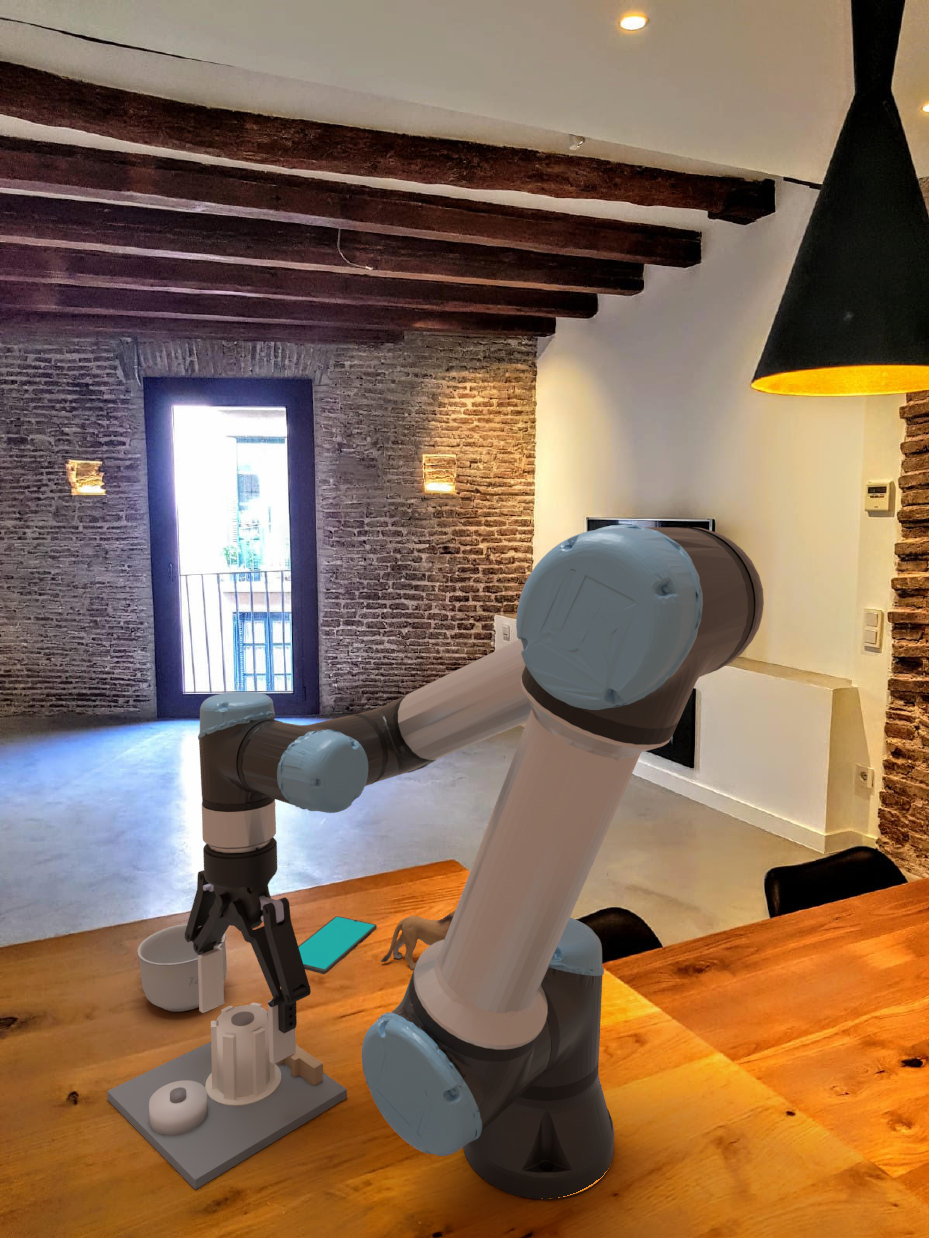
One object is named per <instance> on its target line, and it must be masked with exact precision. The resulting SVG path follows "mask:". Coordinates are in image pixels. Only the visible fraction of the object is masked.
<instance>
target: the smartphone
mask: <svg viewBox="0 0 929 1238" xmlns="http://www.w3.org/2000/svg"><path fill="white" fill-rule="evenodd" d="M377 927H378V925H377V924H375V923H372V922H371V923H370V922H366V921H361V920H357V919H354V918H353V919H352V918H348V917H344V916H340V915H339V916H338V915H337V916H334V917H333V918H331V919H330V920H329V921H328V922H327V923H325V924H324V925H323V926H322V927H321V928H319V929H318V930H316V931H315V932H314V933H313V934H312V935H310V936H309V937H308V938H306V939H305V940H304V941H303V942H301V943H300V944H298V947H299V951H300V954H301V958H302V961H303V965H304V968H305V971H306V970H307V971H311V972H313V973H318V974H321V975H326V974H327V973H329V972H330V970H332V969H333V968H334V967H335V966H336V965H337V964H338V963H340V961H342V960H343V959H344V958H345V957H346V956H347V955H348V954H350V953H351V952H352V951H353V950H354V949H356V948H357V947H358V945H360V944H362V943H363V942H364V941H365V940H366V939H367V938H368V937H369V936H370V935H372V933H373V932H375V930H377Z"/></svg>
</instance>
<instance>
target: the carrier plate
mask: <svg viewBox="0 0 929 1238" xmlns="http://www.w3.org/2000/svg"><path fill="white" fill-rule="evenodd" d="M323 1065H324V1064H323V1062H322V1061H321V1060H318V1058H316V1057H314V1056H313V1055H312V1054H311V1053H308V1051H306V1050H305V1049H303V1048H301V1047H300V1046H299V1045H297V1044H296V1053H294V1054H292V1055H290V1056H288V1057H287V1058H285V1059H283V1060H281V1061H279V1062H277V1063H275V1078H273V1079H270V1080H269V1082H268V1084H267V1085H266V1091H265V1092H264V1093H262V1094H260V1095H258V1096H255V1095H254V1094H252V1095H249V1096H244V1097H236V1099H235V1100H229V1099H224V1094H223V1093H221V1092H220V1091H219V1089H218V1088H214V1089H212V1057H211V1041H209V1042H207V1043H205V1044H203V1045H200V1046H199V1047H198V1046H197V1048H195V1049H194V1048H193V1049H192V1050H191V1051H188V1052H186V1053H184V1054H182V1055H180V1056H178V1057H176V1058H173V1059H171V1060H169V1061H167V1062H165V1063H163V1064H161V1065H159V1066H157V1067H154V1068H152V1069H150V1070H148V1071H146V1072H144V1073H142V1074H140V1075H138V1076H136V1077H133V1078H132V1079H129V1080H128V1081H125V1082H123V1083H121V1084H118V1085H117V1086H115V1087H113V1088H111V1089H110V1088H109V1090H107V1092H106V1094H107V1095H106V1096H107V1098H106V1099H107V1101H108V1102H109V1103H110V1104H111V1105H112V1106H113V1107H114V1108H115V1109H116V1110H117V1111H118V1112H119V1113H120V1114H121V1115H122V1117H124V1118H125V1119H126V1120H127V1121H128V1123H130V1124H131V1125H132V1127H133V1128H134V1129H135V1130H137V1132H138V1133H139V1134H140V1135H142V1136H143V1137H144V1139H145V1140H146V1141H147V1142H148V1143H149V1144H150V1145H151V1146H152V1147H153V1148H154V1149H155V1150H156V1151H157V1152H158V1153H159V1154H160V1155H161V1157H162V1158H164V1160H165V1161H167V1162H168V1164H169V1165H170V1166H172V1168H174V1170H175V1171H177V1173H178V1174H179V1175H180V1176H181V1177H182V1178H183V1179H184V1180H185V1181H186V1182H187V1184H189V1185H190V1186H191V1187H192V1188H193V1189H194V1190H198V1189H199V1188H201V1187H202V1186H204V1185H206V1184H207V1183H209V1182H211V1181H213V1180H214V1179H216V1178H217V1177H218V1176H220V1175H223V1174H224V1173H225V1172H227V1171H228V1170H230V1169H232V1168H234V1167H235V1166H237V1165H238V1164H240V1163H242V1162H243V1161H246V1160H247V1159H249V1158H250V1157H251V1156H254V1155H255V1154H257V1153H259V1152H260V1151H262V1150H263V1149H265V1148H267V1147H268V1146H270V1145H272V1144H273V1143H274V1142H277V1141H278V1140H279V1139H282V1138H283V1137H284V1136H286V1135H288V1134H289V1133H291V1132H293V1131H295V1130H296V1129H298V1128H300V1127H301V1126H303V1125H304V1124H306V1123H308V1122H309V1121H311V1120H312V1119H314V1118H316V1117H318V1116H320V1115H322V1114H323V1113H324V1112H325V1111H327V1110H329V1109H331V1108H332V1107H335V1106H336V1105H337V1104H339V1103H340V1102H342V1101H344V1100H345V1099H347V1098H348V1089H347V1088H346V1087H344V1086H343V1085H341V1084H340V1083H339V1082H338V1081H336V1080H335V1079H333V1078H332V1077H331V1076H329V1075H327V1074H326V1073H324V1071H323V1070H324V1066H323Z"/></svg>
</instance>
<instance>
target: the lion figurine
mask: <svg viewBox="0 0 929 1238" xmlns="http://www.w3.org/2000/svg"><path fill="white" fill-rule="evenodd" d="M455 911H456V908H455V909H454V910H453V911H452V912H449V913H448V914H447V915H445V916H444V917H443V918H441V919H428V918H424V917H421V916H418V915H410V916H407V917H403V918H402V919H401V920H400V921H399V922H398V924H397V925H396V927H395V929H394V932H393V935H392V939H391V943H390V947H389V950H388V952H387V953H386V955H385V956H384V957H382V959H381V960H380V962H381V963H386V962H388V960H389V959H390V958H391V956H393V958H394V959H402V958H403V956H404V959H405V960H406V962H407V964H408V966H409V968H410V969H411V970H413V971H414V968H415V966H416V963H417V962H414V961H413V953H414V951H415V949H416V946H417V942H418V940H420V941H422V942H423V943H424V944H426V945H428V946H430V945H432V944H434V943H436V942H438V941H441V940H444V939H445V937H446V935H447V932H448V929H449V927H450V924H451V921H452V919H453V916H454V913H455ZM400 931H401V934H400V936H399V933H400ZM398 936H399V937H398ZM404 945H405V954H404V955H403V953H402V952H399V950H400V949H401V948H402V947H403V946H404Z"/></svg>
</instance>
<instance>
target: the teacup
mask: <svg viewBox="0 0 929 1238" xmlns="http://www.w3.org/2000/svg"><path fill="white" fill-rule="evenodd" d="M187 924H188V922H187V923H182V924H177V925H172V926H169V927H166V928H162V929H160V930H158V931H156V932H154V933H153V934H150V935H149V936H147V937H146V938H144V939H143V941H141V943H140V944H139V945H138V948H137V952H136V953H137V957H138V959H139V960H138V961H139V962H138V964H139V972H140V978H141V984H142V986H141V987H142V990H143V993H144V995H145V997H146V999H147V1000H148V1001H149V1002H150V1004H152V1005H155V1006H156V1007H159V1008H161V1009H163V1010H166V1011H168V1012H179V1013H180V1012H185V1011H187V1012H188V1011H190V1010H194V1009H197V1008H199V985H198V958H197V953H196V952H195V951H194V948H193V944H194V943H193V942H192V941H191V942H187V941H186V939H185V931H186V927H187ZM199 927H200V926H199ZM221 939H222V941H220V942H223V943H222V944H219V945H217V946H214V949H215V948H218V947H220V948H221V949H223V979H224V982H225V981H226V978H227V977H226V976H227V970H228V969H227V949H226V939H227V935H226V932H225V933H224V935H223V936H222V938H221Z"/></svg>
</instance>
